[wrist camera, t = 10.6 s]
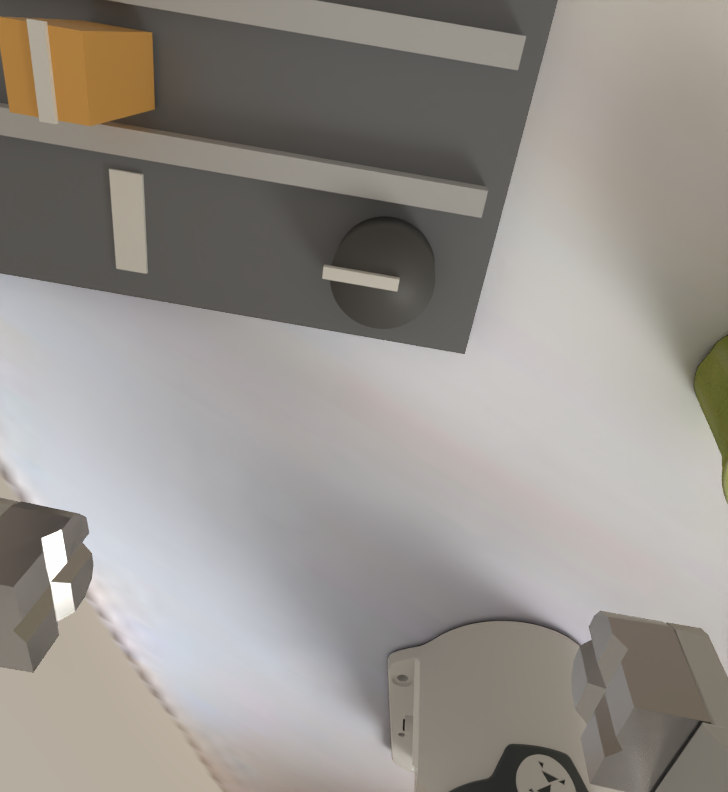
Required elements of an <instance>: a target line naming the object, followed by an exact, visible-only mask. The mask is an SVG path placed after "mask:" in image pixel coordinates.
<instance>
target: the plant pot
mask: <svg viewBox="0 0 728 792" xmlns="http://www.w3.org/2000/svg"><path fill="white" fill-rule="evenodd" d="M694 388H695V393H696V397H697V399H698V401H699V403H700V406H701V408H702V411H703V413H704V415H705V417H706V420H707V422H708V424H709V426H710V429H711V431H712V433H713V436H714V438H715V441H716V443H717V445H718V448H719V450H720V453H721V455H722V468H723V469H722V487H723V492H724V496H725V498H726V501H727V503H728V335H727V336H726V337H724V338H722V339H721V340H720V341H718V342H717V343H716V345H715V346H714V348H713V349H712V350H711V352H710V353H709V354H708V356H707V357H706V358H705V359H704V360H703V362H702V363H701V364H700V365H699V366H698V368H697V371H696V374H695V381H694Z"/></svg>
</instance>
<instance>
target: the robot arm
mask: <svg viewBox="0 0 728 792" xmlns="http://www.w3.org/2000/svg"><path fill="white" fill-rule="evenodd" d="M88 534H89V529H88V524H87V519H86V517H85V516H83V515H81V514H77V513H73V512H68V511H63V510H59V509H54V508H49V507H45V506H40V505H35V504H31V503H26V502H18V501H14V500H8V499H4V498H0V667H3V668H9V669H15V670H21V671H27V672H34V671H35V669H36V668H37V666H38V665H39V663H40V662H41V661H42V659H43V658H44V656H45V655H46V653H47V652H48V650H49V649H50V648H51V646H52V645H53V643H54V642H55V640H56V639H57V637H58V636H59V632H58V623H57V622H58V621H59V620H61V619H63V618H65V617H67V616H68V615H70V614H72V613H74V612H75V611H76V609H77V608H78V606H79V605H80V603H81V602H82V600H83V599H84V597H85V595H86V592H87V590H88V587H89V584H90V582H91V579H92V572H93V558H92V553H91V552H90V551H89V550H88V548H87V547H86V546H85V545H84V544H83V543H82V542H83V540H84V539H85V538H86V536H87V535H88ZM589 630H590V634H591V639H592V640H590V641H588V642H586V643H584V644H583V645H581V646H579V645H578V644H576V643H575V642H574V641H572V640H571V639H569V638H568V637H566V636H564V635H562V634H560V633H558V632H556V631H553V630H551V629H548V628H545V627H542V626H538V625H534V624H529V623H523V622H514V621H490V622H481V623H475V624H470V625H466V626H462V627H459V628H456V629H453V630H451V631H449V632H446V633H444V634H442V635H440V636H439V637H437V638H435V639H434V640H432V641H430V642H428V643H426V644H424V645H422V646H418V647H413V648H408V649H403V650H399V651H396V652H394V653H392V654H390V655H389V657H388V660H387V664H388V686H389V708H390V730H391V752H392V759H393V761H394V762H395V763H396V764H398V765H399V766H401V767H403V768H405V769H407V770H409V771H411V772H413V773H415V787H414V792H622V791H623V792H728V677H727V675H726V673H725V670H724V668H723V666H722V664H721V662H720V660H719V657H718V655H717V653H716V651H715V649H714V647H713V644H712V642H711V640H710V638H709V636H708V635H707V634H706V633H705V632H704V631H703V630H702V629H701V628H696V627H690V626H684V625H679V624H673V623H664V622H662V621H656V620H651V619H645V618H639V617H634V616H628V615H622V614H616V613H611V612H605V611H599V612H598V613H597V614H596V615H594V617H593V619H592V621H591V623H590V625H589Z"/></svg>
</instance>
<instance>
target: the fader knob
mask: <svg viewBox="0 0 728 792" xmlns="http://www.w3.org/2000/svg"><path fill="white" fill-rule="evenodd" d="M0 50H1V57H2V63H3V70H4V77H5V83H6V90H7V97H8V103H9V110H10V112H11V113H17V114H23V115H28V116H34V117H39V121H40V122H45V123H51V124H59V123H58V121H63V122H69V123H75V124H81V125H86V126H93V125H97V124H101V123H105V122H108V121H112V120H116V119H120V118H124V117H128V116H132V115H135V114H139V113H143V112H147V111H151V110H155V96H154V67H153V38H152V32H147V31H141V30H136V29H130V28H124V27H118V26H112V25H106V24H101V23H95V22H89V21H83V20H63V19H43V18H23V17H3V16H0Z"/></svg>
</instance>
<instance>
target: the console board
mask: <svg viewBox="0 0 728 792" xmlns="http://www.w3.org/2000/svg"><path fill="white" fill-rule="evenodd" d="M557 1H558V0H0V16H3V17H23V18H43V19H63V20H83V21H89V22H95V23H101V24H106V25H112V26H118V27H124V28H130V29H136V30H141V31H147V32H152V38H153V67H154V96H155V110H151V111H147V112H143V113H139V114H135V115H132V116H128V117H124V118H120V119H116V120H112V121H108V122H105V123H101V124H97V125H93V126H86V125H81V124H75V123H69V122H63V121H58V123H59V124H51V123H45V122H40V121H39V117H34V116H28V115H23V114H17V113H11V112H10V110H9V103H8V97H7V90H6V83H5V77H4V70H3V63H2V57H1V50H0V273H2V274H8V275H14V276H19V277H25V278H31V279H37V280H42V281H48V282H54V283H60V284H65V285H71V286H77V287H83V288H88V289H94V290H100V291H106V292H111V293H117V294H123V295H129V296H134V297H140V298H146V299H152V300H157V301H163V302H169V303H175V304H180V305H186V306H192V307H198V308H203V309H209V310H215V311H221V312H226V313H232V314H238V315H244V316H249V317H255V318H261V319H267V320H272V321H278V322H284V323H290V324H295V325H301V326H307V327H313V328H318V329H324V330H330V331H336V332H341V333H347V334H353V335H359V336H364V337H370V338H376V339H382V340H387V341H393V342H399V343H405V344H410V345H416V346H422V347H428V348H433V349H439V350H445V351H451V352H456V353H462V354H465V351H466V347H467V343H468V339H469V335H470V332H471V328H472V324H473V320H474V316H475V313H476V309H477V305H478V301H479V297H480V294H481V290H482V286H483V282H484V278H485V275H486V271H487V267H488V263H489V259H490V256H491V252H492V248H493V244H494V240H495V237H496V233H497V229H498V225H499V221H500V218H501V214H502V210H503V206H504V202H505V199H506V195H507V191H508V187H509V183H510V180H511V176H512V172H513V168H514V164H515V161H516V157H517V153H518V149H519V145H520V142H521V138H522V134H523V130H524V126H525V123H526V119H527V115H528V111H529V107H530V104H531V100H532V96H533V92H534V88H535V84H536V81H537V77H538V73H539V69H540V65H541V62H542V58H543V54H544V50H545V46H546V43H547V39H548V35H549V31H550V27H551V24H552V20H553V16H554V12H555V8H556V5H557Z"/></svg>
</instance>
